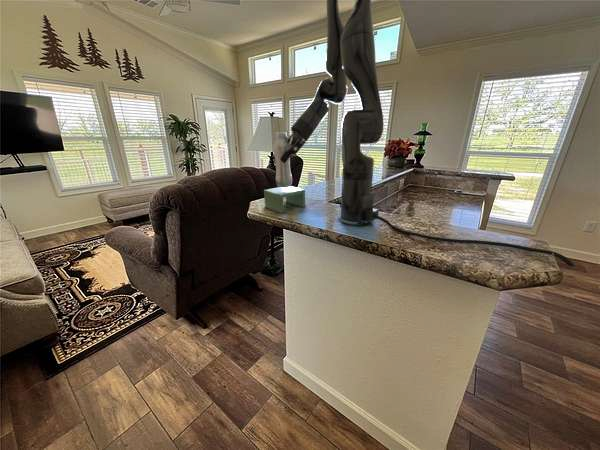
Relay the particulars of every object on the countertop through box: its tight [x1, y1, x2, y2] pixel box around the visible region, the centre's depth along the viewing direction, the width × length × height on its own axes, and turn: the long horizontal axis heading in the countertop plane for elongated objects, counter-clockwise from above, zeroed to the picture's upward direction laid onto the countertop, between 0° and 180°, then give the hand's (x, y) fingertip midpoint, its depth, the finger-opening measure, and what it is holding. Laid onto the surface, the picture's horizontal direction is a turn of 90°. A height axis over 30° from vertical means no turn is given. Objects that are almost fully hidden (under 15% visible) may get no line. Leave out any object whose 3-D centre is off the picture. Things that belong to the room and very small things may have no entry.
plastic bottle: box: [272, 131, 293, 188], centre depth 88 cm, size 6×7×20 cm
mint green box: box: [263, 185, 306, 214], centre depth 93 cm, size 11×12×7 cm
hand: (278, 160), depth 87 cm, fingers closed on plastic bottle, 6 cm apart
